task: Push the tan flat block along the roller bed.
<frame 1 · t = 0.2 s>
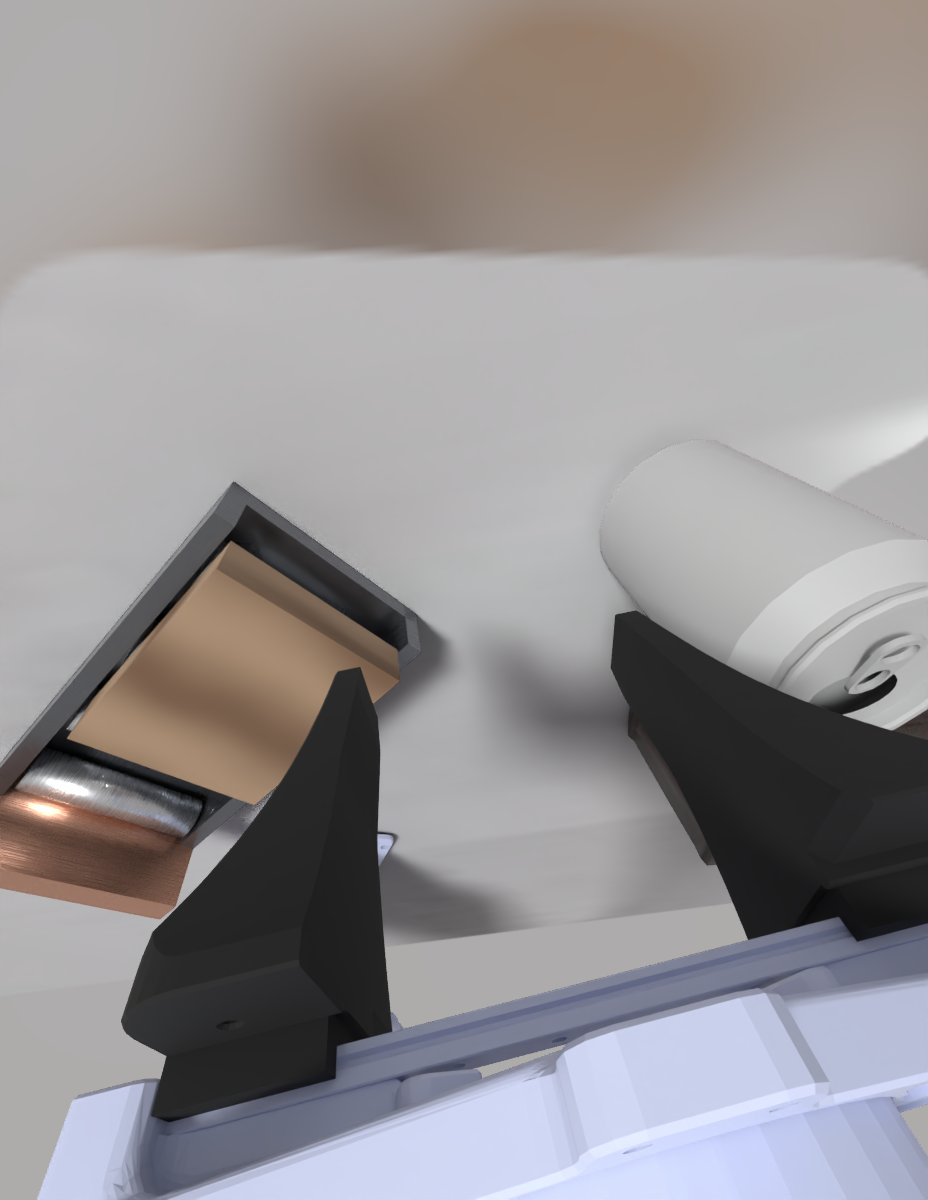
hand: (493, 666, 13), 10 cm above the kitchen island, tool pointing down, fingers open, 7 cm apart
can: (663, 510, 23), on the kitchen island
tan flat block: (244, 690, 19), point 4 cm above the kitchen island, slide at 0.0 cm
dark brown boxy piece: (697, 693, 32), on the kitchen island
roller bed: (209, 684, 24), on the kitchen island
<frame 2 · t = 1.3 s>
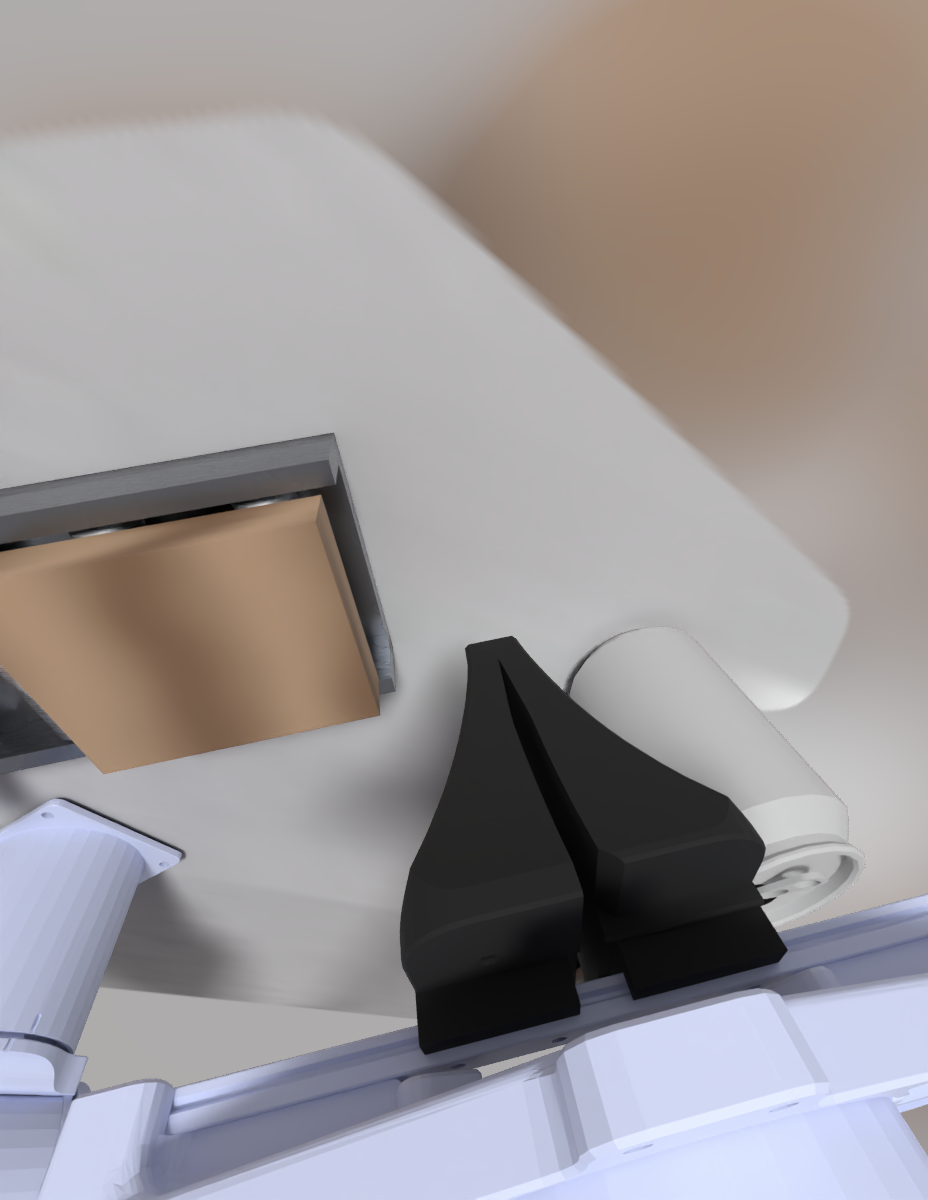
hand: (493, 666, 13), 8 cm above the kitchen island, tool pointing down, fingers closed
can: (627, 668, 26), on the kitchen island
tan flat block: (204, 644, 16), point 4 cm above the kitchen island, slide at 0.0 cm
roller bed: (118, 602, 19), on the kitchen island
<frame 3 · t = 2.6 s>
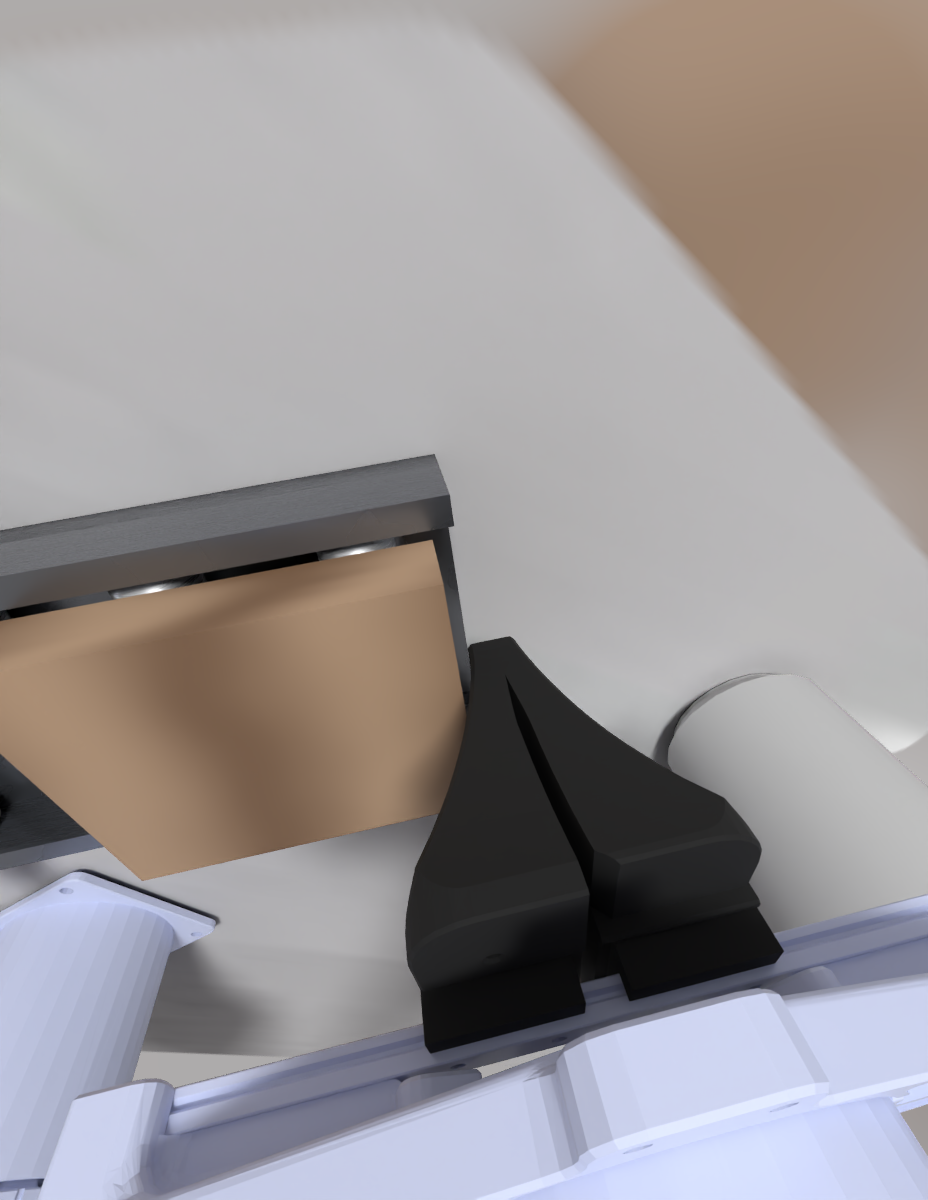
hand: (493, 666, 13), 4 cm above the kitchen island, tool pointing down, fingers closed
can: (729, 715, 23), on the kitchen island
tan flat block: (273, 726, 12), point 4 cm above the kitchen island, slide at 0.1 cm, touching gripper
roller bed: (157, 657, 15), on the kitchen island
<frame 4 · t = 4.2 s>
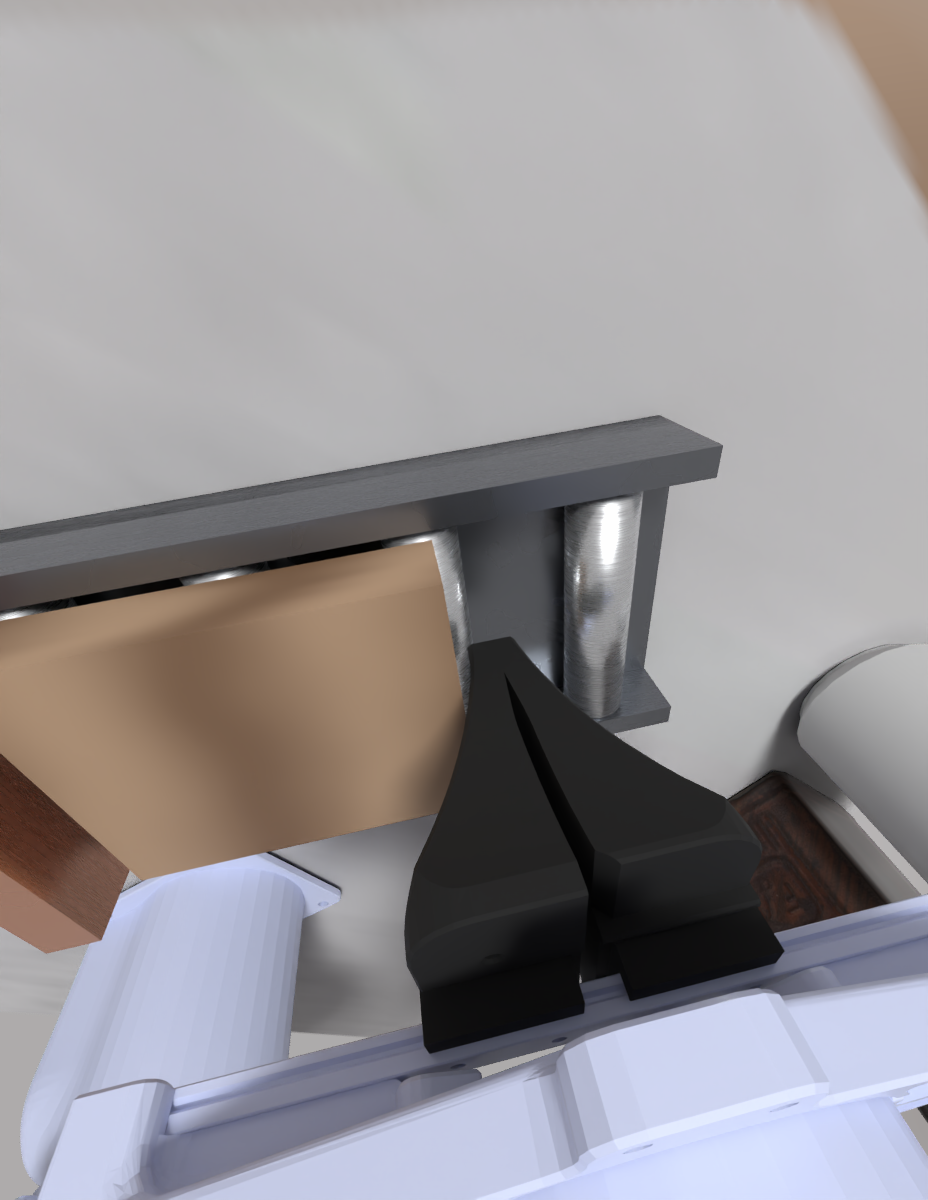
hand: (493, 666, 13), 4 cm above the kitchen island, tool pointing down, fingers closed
can: (853, 687, 23), on the kitchen island
tan flat block: (273, 726, 12), point 4 cm above the kitchen island, slide at 6.7 cm, touching gripper
dark brown boxy piece: (709, 850, 31), on the kitchen island
roller bed: (359, 617, 16), on the kitchen island
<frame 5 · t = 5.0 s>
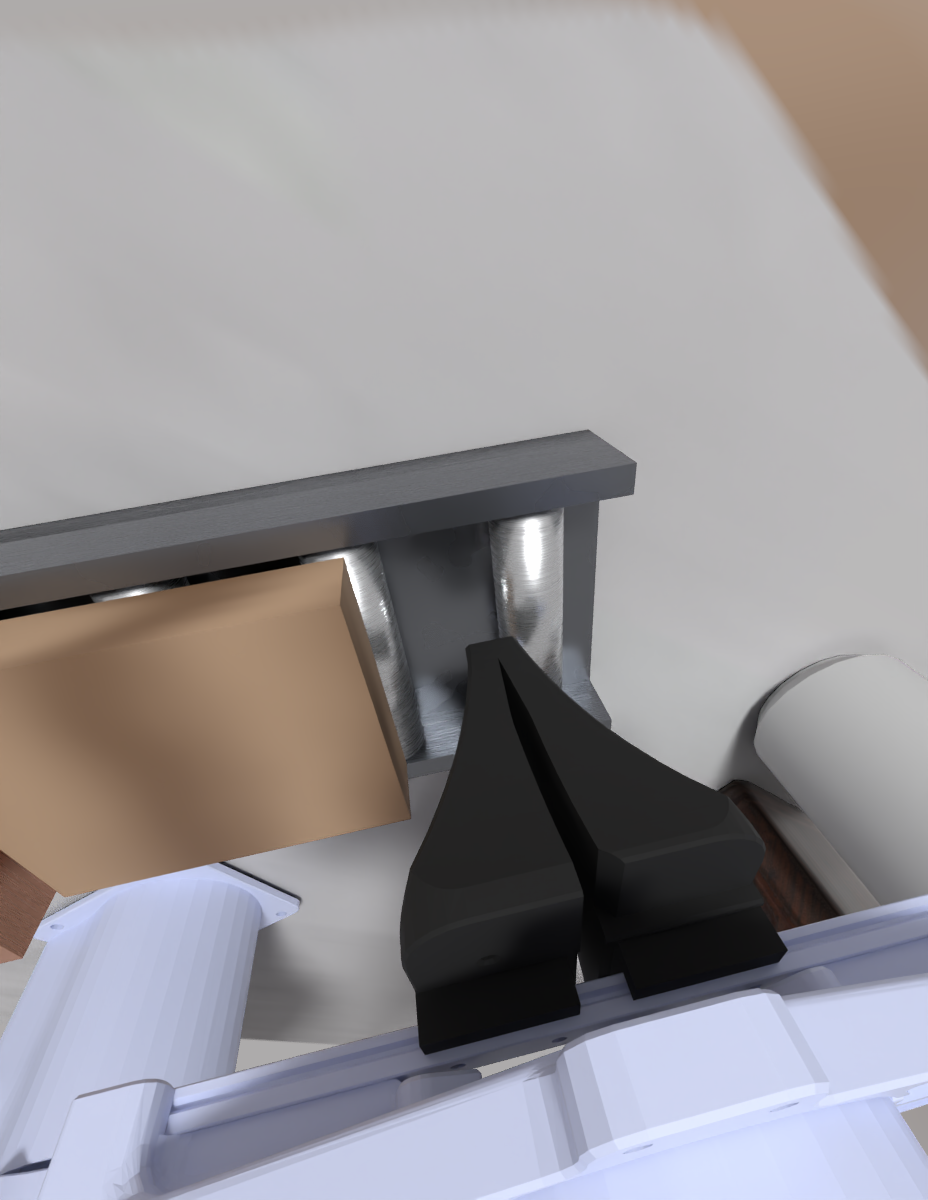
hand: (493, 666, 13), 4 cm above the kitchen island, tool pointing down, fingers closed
can: (811, 697, 23), on the kitchen island
tan flat block: (191, 742, 12), point 4 cm above the kitchen island, slide at 6.7 cm
dark brown boxy piece: (676, 858, 31), on the kitchen island
roller bed: (296, 630, 16), on the kitchen island
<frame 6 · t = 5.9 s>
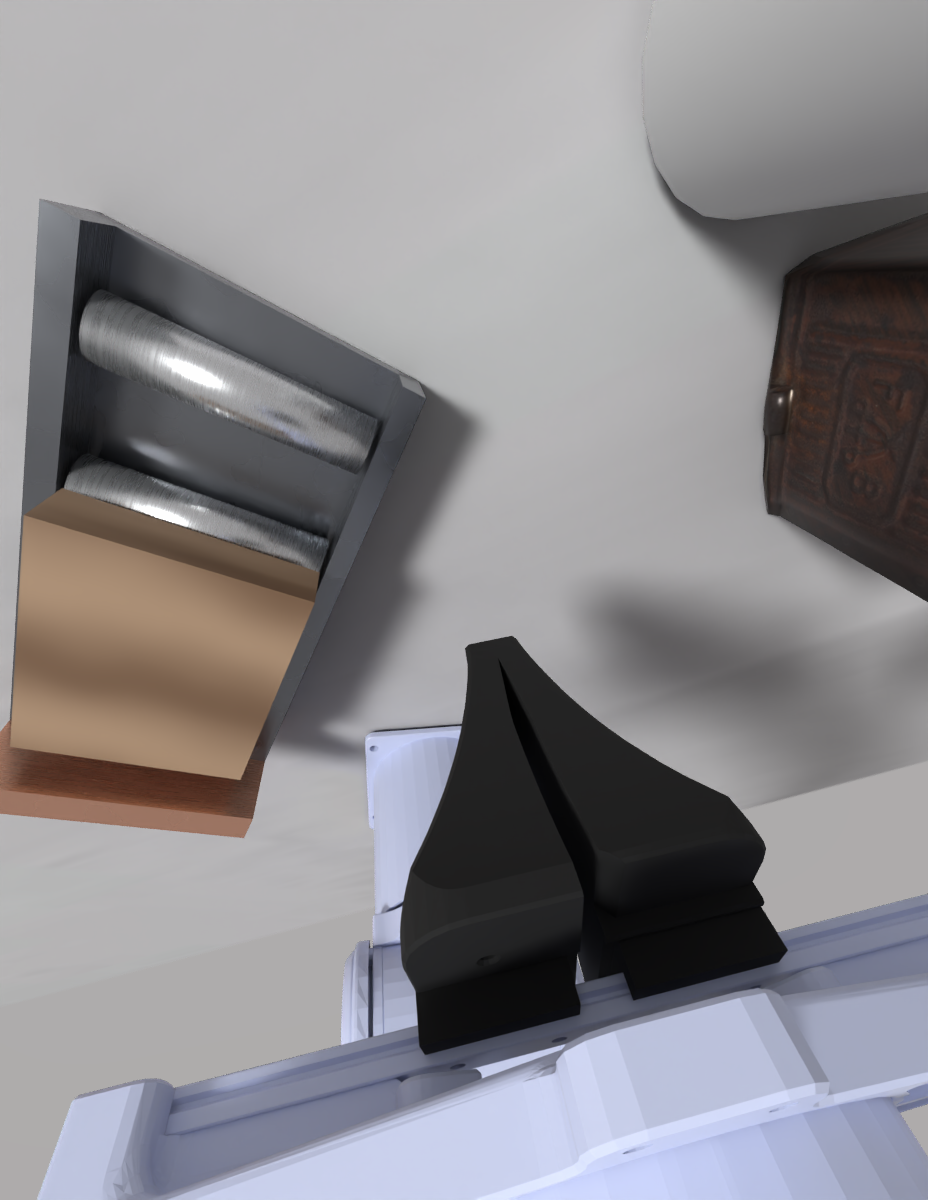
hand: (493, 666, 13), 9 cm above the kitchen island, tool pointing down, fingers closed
can: (743, 63, 14), on the kitchen island
tan flat block: (166, 658, 17), point 4 cm above the kitchen island, slide at 6.7 cm
dark brown boxy piece: (861, 424, 22), on the kitchen island
roller bed: (209, 555, 20), on the kitchen island
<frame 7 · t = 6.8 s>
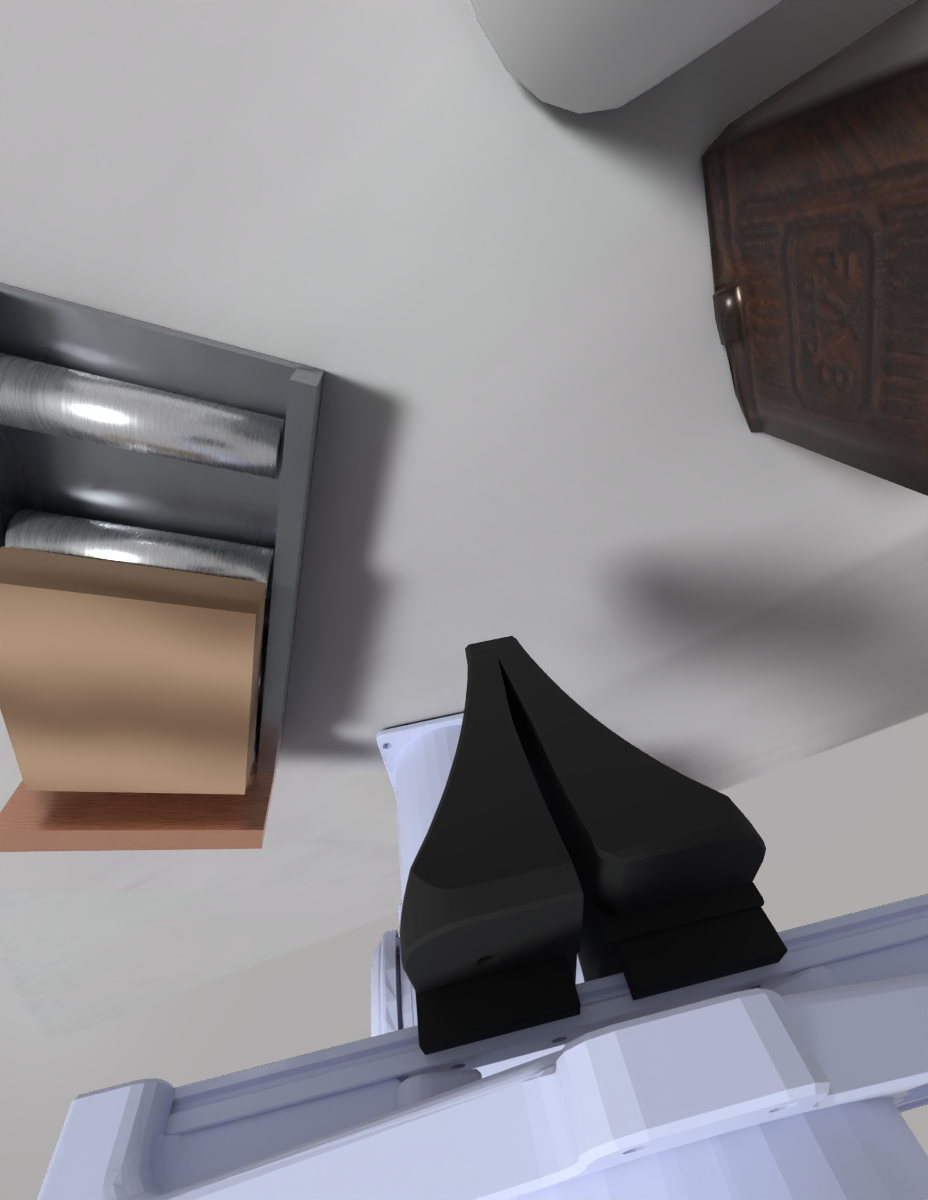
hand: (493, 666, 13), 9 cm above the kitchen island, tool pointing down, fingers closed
tan flat block: (142, 689, 18), point 4 cm above the kitchen island, slide at 6.7 cm
dark brown boxy piece: (844, 308, 19), on the kitchen island
roller bed: (175, 584, 20), on the kitchen island
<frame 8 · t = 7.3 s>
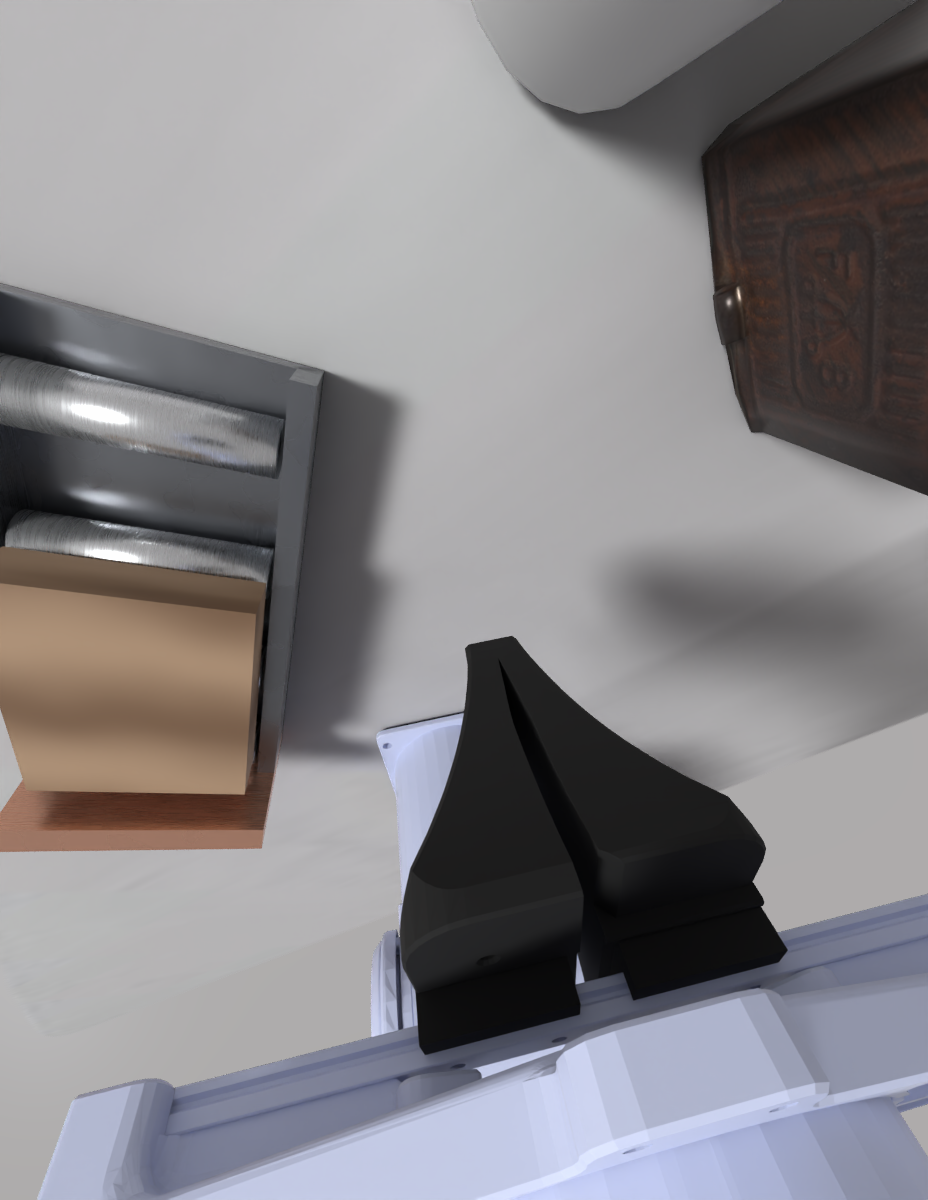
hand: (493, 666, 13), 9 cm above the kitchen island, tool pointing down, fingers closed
tan flat block: (142, 689, 18), point 4 cm above the kitchen island, slide at 6.7 cm
dark brown boxy piece: (844, 308, 19), on the kitchen island
roller bed: (175, 584, 20), on the kitchen island
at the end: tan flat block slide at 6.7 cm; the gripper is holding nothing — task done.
